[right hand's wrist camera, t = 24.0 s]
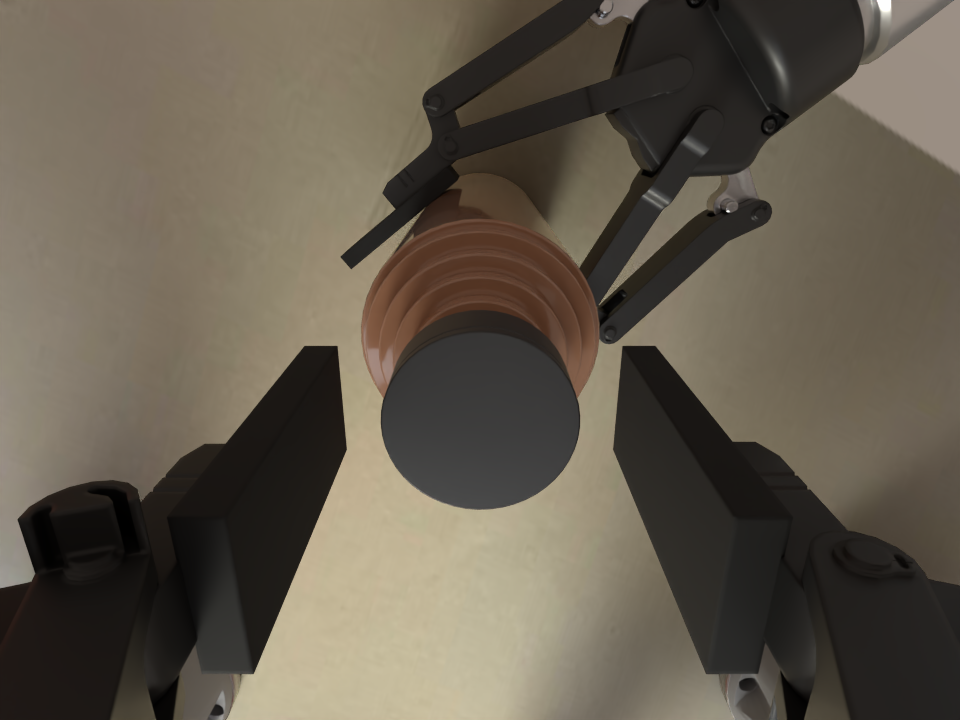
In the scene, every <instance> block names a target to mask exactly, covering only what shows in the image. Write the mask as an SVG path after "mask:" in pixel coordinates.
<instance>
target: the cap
mask: <svg viewBox="0 0 960 720" xmlns="http://www.w3.org/2000/svg"><path fill="white" fill-rule="evenodd" d="M381 429H382V436H383V440H384V444H385V447H386V449H387V452H388V454H389V457H390V458H391V460H392V462H393V463H394V465H395V467H396V468H397V469H398V471H399V472H400V473H401V474H402V476H403V477H404V478H405V479H406V480H407V481H408V482H409V483H410V484H411V485H413V486H414V487H415V488H416V489H418V490H419V491H420V492H422V493H424V494H425V495H427V496H429V497H431V498H432V499H435V500H437V501H439V502H442V503H445V504H448V505H451V506H454V507H460V508H465V509H477V510H481V509H495V508H502V507H506V506H510V505H513V504H516V503H519V502H521V501H524V500H526V499H528V498H530V497H532V496H534V495H536V494H537V493H539V492H540V491H542V490H543V489H545V488H546V487H547V486H548V485H549V484H551V483H552V482H553V481H554V480H555V479H556V478H557V477H558V475H559V474H560V473H561V472H562V471H563V469H564V468H565V466H566V465H567V463H568V462H569V460H570V458H571V456H572V454H573V452H574V450H575V447H576V443H577V440H578V436H579V429H580V411H579V404H578V400H577V397H576V393H575V390H574V387H573V385H572V382H571V379H570V376H569V373H568V371H567V368H566V365H565V363H564V361H563V359H562V356H561V355H560V353H559V352H558V350H557V348H556V347H555V345H554V344H553V343H552V342H551V341H550V340H549V338H548V337H547V336H546V335H544V334H543V333H542V332H541V331H540V330H539V329H537V328H536V327H534V326H533V325H531V324H530V323H528V322H526V321H524V320H522V319H520V318H518V317H515V316H513V315H510V314H507V313H502V312H498V311H490V310H469V311H464V312H458V313H455V314H451V315H448V316H445V317H443V318H441V319H439V320H436V321H434V322H433V323H431V324H430V325H428V326H426V327H425V328H424V329H422V330H421V331H420V332H419V333H417V334H416V335H415V336H414V337H413V338H412V339H411V341H410V342H409V343H408V344H407V345H406V347H405V348H404V350H403V351H402V353H401V354H400V356H399V358H398V360H397V362H396V365H395V368H394V371H393V373H392V376H391V379H390V382H389V385H388V387H387V390H386V393H385V396H384V399H383V404H382V410H381Z"/></svg>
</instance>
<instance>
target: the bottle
mask: <svg viewBox="0 0 960 720" xmlns="http://www.w3.org/2000/svg"><path fill="white" fill-rule="evenodd" d="M469 310H490V311H498V312H502V313H507V314H510V315H513V316H515V317H518V318H520V319H522V320H524V321H526V322H528V323H530V324H531V325H533V326H534V327H536V328H537V329H539V330H540V331H541V332H542V333H543V334H544V335H546V336H547V337H548V338H549V340H550V341H551V342H552V343H553V344H554V345H555V347H556V348H557V350H558V352H559V353H560V355H561V356H562V359H563V361H564V363H565V365H566V368H567V371H568V373H569V376H570V379H571V382H572V385H573V387H574V390H575V393H576V397H577V398H578V396H579V394H580V393H581V391H582V390H583V388H584V386H585V384H586V383H587V381H588V379H589V377H590V374H591V372H592V370H593V367H594V364H595V360H596V356H597V353H598V345H599V318H598V311H597V306H596V303H595V300H594V296H593V293H592V291H591V289H590V287H589V284H588V282H587V280H586V278H585V277H584V275H583V274H582V272H581V270H580V269H579V267H578V266H577V264H576V263H575V262H574V260H573V259H572V257H571V256H570V255H569V253H568V252H567V250H566V249H565V248H564V246H563V245H562V243H561V242H560V241H559V239H558V238H557V236H556V235H555V233H554V232H553V231H552V229H551V228H550V226H549V225H548V224H547V222H546V221H545V219H544V218H543V217H542V215H541V214H540V212H539V211H538V209H537V208H536V207H535V205H534V204H533V202H532V201H531V200H530V198H529V197H528V196H527V195H526V193H525V192H524V191H523V190H522V189H521V188H519V187H518V186H517V185H516V184H514V183H513V182H511V181H509V180H507V179H505V178H503V177H500V176H498V175H494V174H489V173H472V174H467V175H463V176H460V177H459V179H458V181H457V182H455V183H454V184H453V185H452V186H451V187H449V188H448V189H447V190H446V191H445V192H443V193H442V194H441V195H440V196H439V197H437V198H436V199H435V200H434V201H433V202H431V203H430V204H429V205H428V206H427V207H425V208H424V209H423V210H422V212H421V213H420V214H419V216H418V217H417V219H416V220H415V221H414V223H413V224H412V226H411V227H410V229H409V230H408V231H407V233H406V234H405V236H404V237H403V239H402V240H401V241H400V243H399V244H398V246H397V247H396V248H395V250H394V251H393V253H392V254H391V256H390V257H389V258H388V260H387V261H386V263H385V264H384V265H383V267H382V268H381V270H380V271H379V273H378V275H377V276H376V278H375V280H374V281H373V283H372V286H371V288H370V290H369V293H368V295H367V298H366V302H365V306H364V309H363V316H362V324H361V341H362V347H363V354H364V358H365V361H366V365H367V368H368V371H369V373H370V375H371V377H372V379H373V382H374V383H375V385H376V387H377V388H378V390H379V392H380V393H381V395H382V396H383V398H384V396H385V393H386V390H387V387H388V385H389V382H390V379H391V376H392V373H393V371H394V368H395V365H396V362H397V360H398V358H399V356H400V354H401V353H402V351H403V350H404V348H405V347H406V345H407V344H408V343H409V342H410V341H411V339H412V338H413V337H414V336H415V335H416V334H417V333H419V332H420V331H421V330H422V329H424V328H425V327H426V326H428V325H430V324H431V323H433V322H434V321H436V320H439V319H441V318H443V317H445V316H448V315H451V314H455V313H458V312H464V311H469Z"/></svg>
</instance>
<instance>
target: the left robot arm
mask: <svg viewBox="0 0 960 720" xmlns="http://www.w3.org/2000/svg"><path fill="white" fill-rule="evenodd" d="M952 1H954V0H563V1H561V2H560V3H558V4H557V5H555V6H554V7H552V8H551V9H549V10H547V11H546V12H544V13H543V14H541V15H540V16H538V17H537V18H535V19H534V20H532V21H531V22H529V23H528V24H526V25H525V26H523V27H522V28H520V29H519V30H517V31H516V32H514V33H513V34H511V35H510V36H508V37H507V38H505V39H504V40H502V41H501V42H499V43H498V44H496V45H495V46H493V47H492V48H490V49H489V50H487V51H486V52H484V53H483V54H481V55H480V56H478V57H477V58H475V59H474V60H472V61H471V62H469V63H468V64H466V65H465V66H463V67H462V68H460V69H459V70H457V71H456V72H454V73H453V74H451V75H450V76H448V77H446V78H445V79H443V80H442V81H440V82H439V83H437V84H436V85H434V86H433V87H431V88H430V89H429V90H428V91H427V92H426V93H425V94H424V97H423V107H424V110H425V111H426V114H427V117H428V120H429V123H430V126H431V129H432V141H431V144H430V146H429V147H428V148H427V149H426V150H425V151H424V152H423V153H422V154H420V155H419V156H418V157H417V158H416V159H415V160H413V161H412V162H411V163H410V164H409V165H408V166H406V167H405V168H404V169H403V170H402V171H401V172H399V173H398V174H397V175H396V176H395V177H394V178H393V179H391V180H390V181H389V182H388V183H387V185H386V187H385V189H384V191H383V194H384V196H385V197H386V198H387V199H388V200H389V202H390V203H391V204H392V205H393V206H394V208H395V209H396V210H394V211H393V212H392V213H391V214H390V215H388V216H387V217H386V218H385V219H384V220H383V221H381V222H380V223H379V224H378V225H377V226H375V227H374V228H373V229H372V230H371V231H369V232H368V233H367V234H366V235H365V236H364V237H362V238H361V239H360V240H359V241H358V242H356V243H355V244H354V245H353V246H352V247H351V248H350V249H348V250H347V251H346V252H345V253H344V254H343V255H342V256H341V258H342V259H343V260H344V262H345V263H346V264H347V265H348V266H349V267H350V268H351V269H352V268H353V267H355V266H356V265H357V264H358V263H359V262H361V261H362V260H363V259H364V258H365V257H367V256H368V255H369V254H370V253H371V252H373V251H374V250H375V249H376V248H377V247H379V246H380V245H381V244H382V243H383V242H385V241H386V240H387V239H388V238H389V237H391V236H392V235H393V234H394V233H395V232H397V231H398V230H399V229H400V228H401V227H403V226H404V225H405V224H406V223H407V222H409V221H410V220H411V219H412V218H413V217H415V216H416V215H417V214H418V213H419V212H421V211H422V210H423V209H424V208H425V207H427V206H428V205H429V204H430V203H431V202H433V201H434V200H435V199H436V198H437V197H439V196H440V195H441V194H442V193H443V192H445V191H446V190H447V189H448V188H449V187H451V186H452V185H453V184H454V183H455V182H457V181H458V179H459V175H458V174H457V172H456V171H455V170H454V168H453V167H452V166H451V164H452V163H454V162H455V161H456V160H458V159H461V158H464V157H467V156H470V155H473V154H476V153H479V152H482V151H485V150H488V149H492V148H495V147H498V146H501V145H504V144H507V143H510V142H513V141H516V140H519V139H522V138H526V137H529V136H532V135H535V134H538V133H541V132H544V131H547V130H550V129H553V128H556V127H559V126H563V125H566V124H569V123H572V122H575V121H578V120H581V119H584V118H587V117H591V116H594V115H598V114H601V113H604V112H607V113H606V114H605V116H606V117H607V119H608V120H609V122H610V123H611V125H612V126H613V128H614V129H615V130H617V131H618V132H619V133H620V134H621V135H623V136H624V137H625V138H626V139H627V141H628V145H629V148H630V151H631V154H632V156H633V158H634V159H635V161H636V162H637V164H638V165H639V167H640V168H641V169H640V171H639V172H638V174H637V175H636V177H635V178H634V180H633V182H632V184H631V187H630V190H629V192H628V194H627V195H626V197H625V198H624V200H623V201H622V203H621V205H620V206H619V208H618V209H617V211H616V212H615V214H614V215H613V217H612V218H611V220H610V221H609V223H608V225H607V226H606V228H605V229H604V231H603V232H602V234H601V235H600V237H599V238H598V240H597V242H596V243H595V245H594V246H593V248H592V249H591V251H590V252H589V254H588V255H587V257H586V258H585V260H584V262H583V263H582V265H581V266H580V268H579V269H580V270H581V272H582V274H583V275H584V277H585V278H586V280H587V282H588V284H589V287H590V289H591V291H592V293H593V296H594V300H595V303H596V306H597V311H598V318H599V339H600V340H601V341H602V342H603V343H605V344H612V343H615V342H617V341H618V340H619V339H620V338H621V337H623V336H624V335H625V334H626V333H627V332H628V331H629V330H630V329H631V328H632V327H634V326H635V325H636V324H637V323H638V322H639V321H640V320H641V319H642V318H644V317H645V316H646V315H647V314H648V313H649V312H650V311H651V310H652V309H654V308H655V307H656V306H657V305H658V304H659V303H660V302H661V301H662V300H663V299H665V298H666V297H667V296H668V295H669V294H670V293H671V292H672V291H673V290H675V289H676V288H677V287H678V286H679V285H680V284H681V283H682V282H683V281H685V280H686V279H687V278H688V277H689V276H690V275H691V274H692V273H693V272H694V271H696V270H697V269H698V268H699V267H700V266H701V265H702V264H703V263H704V262H706V261H707V260H708V259H709V258H710V257H711V256H712V255H713V254H714V253H716V252H717V251H718V250H719V249H720V248H721V247H722V246H723V245H724V244H725V243H727V242H728V241H730V240H732V239H734V238H736V237H738V236H741V235H743V234H745V233H747V232H749V231H751V230H754V229H756V228H758V227H760V226H762V225H764V224H765V223H767V222H768V220H769V219H770V217H771V214H772V208H771V206H770V204H769V203H767V202H766V201H763V200H759V198H758V196H757V192H756V189H755V186H754V183H753V180H752V176H751V173H750V170H749V166H750V165H751V164H752V162H753V161H754V159H755V158H756V156H757V154H758V152H759V150H760V149H761V147H762V146H763V144H764V143H765V142H766V141H767V140H768V139H769V138H770V137H771V136H773V135H774V134H775V133H777V132H778V131H780V130H781V129H783V128H784V127H785V126H787V125H788V124H789V123H791V122H792V121H793V120H795V119H796V118H797V117H799V116H800V115H801V114H803V113H804V112H805V111H807V110H808V109H809V108H811V107H812V106H814V105H815V104H816V103H818V102H819V101H820V100H822V99H823V98H824V97H826V96H827V95H828V94H830V93H831V92H832V91H834V90H835V89H836V88H838V87H839V86H840V85H842V84H843V83H844V82H846V81H847V80H848V79H850V78H851V77H852V76H853V75H854V73H855V72H856V70H857V68H858V66H859V65H863V64H869V63H871V62H872V61H874V60H876V59H877V58H879V57H880V56H881V55H883V54H884V53H885V52H887V51H888V50H889V49H891V48H892V47H893V46H895V45H896V44H897V43H898V42H900V41H901V40H902V39H904V38H905V37H906V36H908V35H909V34H910V33H912V32H913V31H914V30H915V29H917V28H918V27H919V26H921V25H922V24H923V23H925V22H926V21H927V20H929V19H930V18H931V17H933V16H934V15H935V14H936V13H938V12H939V11H940V10H942V9H943V8H944V7H946V6H947V5H948V4H950V3H951V2H952ZM614 20H622V21H624V22H626V23H627V24H628V25H627V28H626V31H625V34H624V37H623V41H622V44H621V47H620V50H619V53H618V56H617V59H616V62H615V65H614V68H613V71H612V74H611V77H610V79H608V80H605V81H602V82H599V83H596V84H593V85H590V86H587V87H584V88H581V89H578V90H575V91H572V92H569V93H566V94H563V95H560V96H557V97H554V98H551V99H548V100H545V101H542V102H539V103H536V104H533V105H530V106H527V107H524V108H521V109H518V110H515V111H512V112H509V113H506V114H503V115H500V116H496V117H493V118H490V119H487V120H484V121H481V122H478V123H475V124H472V125H469V126H466V127H463V128H460V125H459V122H458V119H457V116H456V113H455V110H457V109H458V108H460V107H461V106H463V105H464V104H466V103H468V102H469V101H471V100H472V99H474V98H475V97H477V96H478V95H480V94H481V93H483V92H485V91H486V90H488V89H489V88H491V87H492V86H494V85H495V84H497V83H498V82H500V81H501V80H503V79H505V78H506V77H508V76H509V75H511V74H512V73H514V72H515V71H517V70H518V69H520V68H521V67H523V66H525V65H526V64H528V63H529V62H531V61H532V60H534V59H535V58H537V57H538V56H540V55H541V54H543V53H545V52H546V51H548V50H549V49H551V48H552V47H554V46H555V45H557V44H558V43H560V42H561V41H563V40H565V39H566V38H567V37H569V36H570V35H571V34H573V33H574V32H575V31H576V30H577V29H579V28H580V27H581V26H582V25H583V24H584V23H585V22H587V23H588V24H589V25H590V26H592V27H594V28H602V27H605V26H606V25H607V24H609V23H610V22H611V21H614ZM720 175H721V184H720V187H719V188H718V189H717V190H716V191H715V192H714V193H713V194H712V195H711V196H710V197H709V198H708V201H707V210H705V211H703V212H701V213H700V214H698V215H697V216H695V217H694V218H693V219H692V220H691V221H689V222H688V223H687V224H686V225H685V226H684V227H683V228H682V229H681V230H679V231H678V232H677V233H676V234H675V235H674V236H673V237H672V238H671V239H670V240H669V241H668V242H667V243H666V244H664V245H663V246H662V247H661V248H660V249H659V250H658V251H657V252H656V253H655V254H654V255H653V256H652V257H651V258H649V259H648V260H647V261H646V262H645V263H644V264H643V265H642V266H641V267H640V268H639V269H638V270H637V271H636V272H634V273H633V274H632V275H631V276H630V277H629V278H628V279H627V280H626V281H625V282H624V283H623V284H622V285H621V286H619V287H618V288H617V289H616V290H615V291H614V292H613V293H612V294H611V295H610V296H609V297H608V298H607V299H606V300H604V301H603V302H602V303H601V304H600V305H599V303H600V302H601V300H602V299H603V297H604V296H605V294H606V293H607V291H608V290H609V288H610V287H611V285H612V284H613V282H614V281H615V280H616V278H617V277H618V275H619V274H620V272H621V271H622V269H623V268H624V266H625V265H626V263H627V262H628V260H629V259H630V257H631V256H632V254H633V253H634V251H635V250H636V248H637V247H638V245H639V244H640V243H641V241H642V240H643V238H644V237H645V235H646V234H647V232H648V231H649V229H650V228H651V226H652V225H653V223H654V222H655V220H656V219H657V217H658V216H659V214H660V213H661V211H662V210H663V209H664V208H665V207H667V206H668V205H669V204H670V203H671V202H672V201H673V200H674V198H675V197H676V195H677V194H678V192H679V191H680V189H681V188H682V186H683V185H684V183H685V182H686V181H687V179H688V178H689V177H698V176H720ZM779 670H780V668H779V666H778V664H777V663H776V661H775V659H774V657H773V655H772V654H771V652H770V650H769V648H768V646H767V645H766V643H765V646H764V651H763V655H762V659H761V664H760V668H759V673H758V674H719V679H720V686H721V689H722V692H723V695H724V697H725V699H726V702H727V704H728V706H729V709H730V711H731V713H732V715H733V717H734V719H735V720H768V716H769V712H770V707H771V703H772V699H773V695H774V691H775V687H776V682H777V678H778V674H779Z"/></svg>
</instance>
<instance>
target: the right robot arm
mask: <svg viewBox="0 0 960 720" xmlns="http://www.w3.org/2000/svg"><path fill="white" fill-rule="evenodd" d="M346 450H347V447H346V436H345V425H344V414H343V402H342V391H341V380H340V369H339V358H338V347H337V346H304V347H303V349H302V350H301V351H300V352H299V354H298V355H297V356H296V357H295V359H294V360H293V361H292V362H291V364H290V365H289V366H288V367H287V369H286V370H285V371H284V372H283V374H282V375H281V376H280V377H279V378H278V380H277V381H276V382H275V383H274V385H273V386H272V387H271V388H270V390H269V391H268V392H267V393H266V395H265V396H264V397H263V398H262V400H261V401H260V402H259V403H258V405H257V406H256V407H255V408H254V409H253V411H252V412H251V413H250V414H249V416H248V417H247V418H246V419H245V421H244V422H243V423H242V424H241V426H240V427H239V428H238V429H237V431H236V432H235V433H234V434H233V436H232V437H231V438H230V439H229V440H228V442H227V443H226V444H204V445H202V446H200V447H199V448H197V449H195V450H194V451H192V452H190V453H189V454H187V455H185V456H184V457H182V458H181V459H180V460H179V461H178V462H177V463H176V464H175V465H174V466H173V467H172V468H171V470H170V471H169V472H168V473H167V474H166V478H162V479H161V481H160V482H159V483H158V484H157V485H156V486H155V487H154V488H153V492H150V493H149V494H148V495H147V496H146V497H145V498H144V499H143V500H142V501H141V503H140V498H139V494H138V490H137V489H136V488H135V487H133V486H132V485H131V484H129V483H126V482H120V481H114V480H109V481H95V482H89V483H85V484H80V485H76V486H72V487H69V488H66V489H64V490H61V491H59V492H56V493H54V494H51V495H49V496H47V497H45V498H43V499H42V500H40V501H38V502H37V503H35V504H34V505H32V506H30V507H29V508H28V509H27V510H26V511H25V512H24V513H23V514H22V515H21V516H20V517H19V518H18V522H19V525H20V528H21V531H22V534H23V537H24V541H25V544H26V547H27V550H28V553H29V556H30V559H31V562H32V565H33V568H34V571H35V576H34V578H33V580H32V582H28V583H24V584H20V585H15V586H10V587H5V588H0V720H226V719H227V717H228V715H229V713H230V711H231V708H232V706H233V704H234V701H235V699H236V696H237V694H238V691H239V687H240V679H241V676H240V674H254V672H255V670H256V667H257V665H258V662H259V660H260V658H261V655H262V653H263V650H264V648H265V646H266V643H267V641H268V638H269V636H270V633H271V631H272V629H273V626H274V624H275V621H276V619H277V617H278V614H279V612H280V609H281V607H282V605H283V602H284V600H285V597H286V595H287V593H288V590H289V588H290V585H291V583H292V580H293V578H294V576H295V573H296V571H297V568H298V566H299V564H300V561H301V559H302V556H303V554H304V552H305V549H306V547H307V544H308V542H309V539H310V537H311V535H312V532H313V530H314V527H315V525H316V523H317V520H318V518H319V515H320V513H321V511H322V508H323V506H324V503H325V501H326V499H327V496H328V494H329V491H330V489H331V486H332V484H333V482H334V479H335V477H336V474H337V472H338V470H339V467H340V465H341V462H342V460H343V458H344V455H345V453H346ZM613 450H614V453H615V455H616V458H617V460H618V462H619V465H620V467H621V470H622V472H623V474H624V477H625V479H626V482H627V484H628V486H629V489H630V491H631V494H632V496H633V499H634V501H635V503H636V506H637V508H638V511H639V513H640V515H641V518H642V520H643V523H644V525H645V527H646V530H647V532H648V535H649V537H650V539H651V542H652V544H653V547H654V549H655V552H656V554H657V556H658V559H659V561H660V564H661V566H662V568H663V571H664V573H665V576H666V578H667V580H668V583H669V585H670V588H671V590H672V593H673V595H674V597H675V600H676V602H677V605H678V607H679V609H680V612H681V614H682V617H683V619H684V621H685V624H686V626H687V629H688V631H689V633H690V636H691V638H692V641H693V643H694V646H695V648H696V650H697V653H698V655H699V658H700V660H701V662H702V665H703V667H704V670H705V672H706V674H758V673H759V668H760V664H761V659H762V655H763V651H764V646H765V643H766V645H767V646H768V648H769V650H770V652H771V654H772V655H773V657H774V659H775V661H776V663H777V664H778V666H779V668H780V670H779V674H778V678H777V682H776V687H775V691H774V695H773V699H772V703H771V707H770V712H769V716H768V720H960V586H959V585H954V584H949V583H944V582H939V581H935V580H931V579H927V577H926V575H925V573H924V571H923V570H922V569H921V568H920V566H919V565H918V564H917V563H916V561H915V560H914V559H912V558H911V557H910V556H908V555H907V554H906V553H904V552H903V551H901V550H900V549H899V548H897V547H895V546H893V545H891V544H889V543H887V542H884V541H882V540H880V539H878V538H876V537H872V536H868V535H865V534H861V533H857V532H852V531H848V530H847V529H846V528H845V527H844V526H843V525H842V524H841V523H840V522H839V521H838V519H837V518H836V517H835V516H834V515H833V514H832V513H831V512H830V511H829V510H828V509H827V507H826V506H825V505H824V504H823V503H822V502H821V501H820V500H819V499H818V498H817V496H816V495H815V494H814V493H813V492H812V491H811V490H807V486H806V484H805V483H804V482H803V481H802V480H801V479H800V478H799V477H798V476H795V474H794V473H795V472H794V471H793V470H792V469H791V468H790V467H789V466H788V465H787V464H786V463H785V461H784V460H783V459H782V458H781V457H780V456H779V455H777V454H775V453H774V452H772V451H770V450H768V449H767V448H765V447H763V446H762V445H760V444H758V443H756V442H732V440H731V439H730V438H729V437H728V436H727V434H726V433H725V432H724V431H723V429H722V428H721V427H720V426H719V424H718V423H717V422H716V421H715V419H714V418H713V417H712V416H711V414H710V413H709V412H708V411H707V409H706V408H705V407H704V406H703V405H702V403H701V402H700V401H699V400H698V398H697V397H696V396H695V395H694V393H693V392H692V391H691V390H690V388H689V387H688V386H687V385H686V383H685V382H684V381H683V380H682V378H681V377H680V376H679V375H678V374H677V372H676V371H675V370H674V369H673V367H672V366H671V365H670V364H669V362H668V361H667V360H666V359H665V357H664V356H663V355H662V354H661V352H660V351H659V350H658V349H657V347H656V346H623V347H622V358H621V369H620V380H619V391H618V402H617V414H616V425H615V436H614V447H613Z"/></svg>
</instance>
